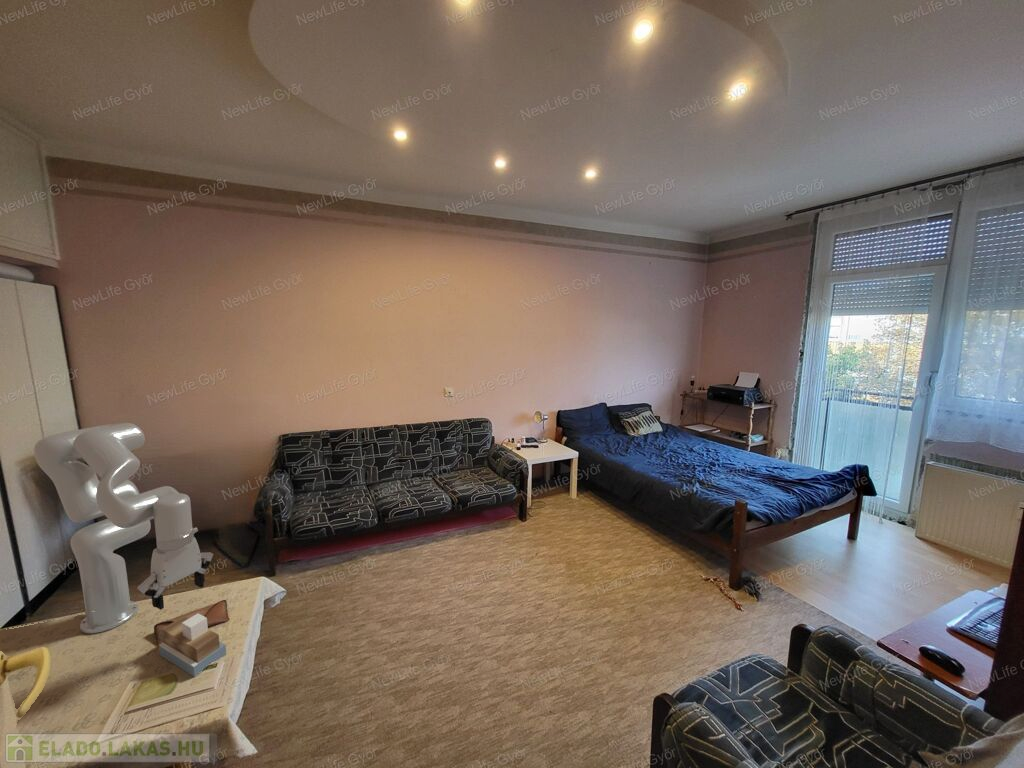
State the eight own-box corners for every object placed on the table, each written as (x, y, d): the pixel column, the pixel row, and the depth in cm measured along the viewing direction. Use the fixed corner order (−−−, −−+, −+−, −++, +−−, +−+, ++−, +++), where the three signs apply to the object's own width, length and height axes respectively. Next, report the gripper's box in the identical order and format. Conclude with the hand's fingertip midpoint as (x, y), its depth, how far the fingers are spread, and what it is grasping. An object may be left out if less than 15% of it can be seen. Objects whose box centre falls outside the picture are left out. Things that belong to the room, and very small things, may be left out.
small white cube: (183, 635, 109) (181, 622, 109) (199, 625, 113) (198, 613, 112) (191, 640, 108) (190, 627, 107) (208, 630, 111) (206, 617, 111)
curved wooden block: (162, 641, 112) (161, 629, 111) (185, 628, 117) (183, 616, 116) (197, 662, 106) (196, 649, 105) (219, 647, 111) (218, 634, 110)
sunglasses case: (155, 650, 112) (152, 625, 114) (155, 648, 117) (152, 624, 118) (231, 619, 124) (228, 597, 126) (229, 619, 129) (226, 597, 131)
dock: (160, 654, 111) (158, 644, 110) (192, 634, 118) (191, 625, 118) (194, 677, 105) (193, 666, 104) (226, 654, 112) (225, 644, 112)
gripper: (202, 522, 116) (205, 574, 119) (126, 552, 101) (133, 611, 104) (218, 528, 114) (221, 582, 116) (143, 561, 98) (149, 622, 101)
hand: (180, 596), depth 110 cm, fingers open, 9 cm apart
